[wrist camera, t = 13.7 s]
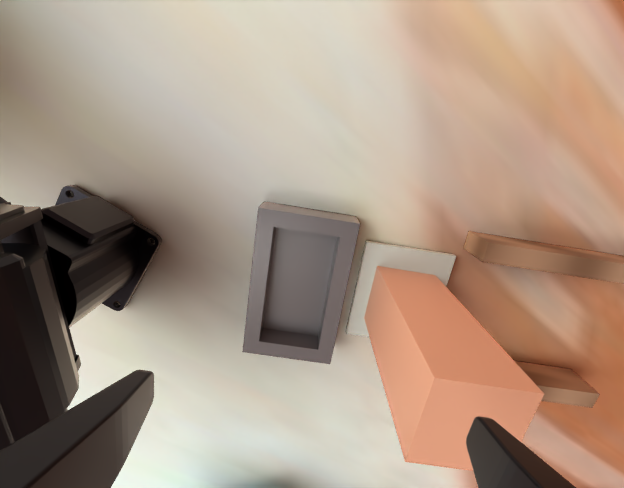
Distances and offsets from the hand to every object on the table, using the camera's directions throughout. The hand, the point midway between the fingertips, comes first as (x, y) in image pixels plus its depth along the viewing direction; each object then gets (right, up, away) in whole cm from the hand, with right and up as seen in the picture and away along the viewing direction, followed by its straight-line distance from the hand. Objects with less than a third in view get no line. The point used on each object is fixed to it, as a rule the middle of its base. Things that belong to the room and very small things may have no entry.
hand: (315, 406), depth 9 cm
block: (+6, +1, +13) cm, 14 cm away
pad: (+6, +1, +13) cm, 15 cm away
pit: (-1, +2, +13) cm, 13 cm away
